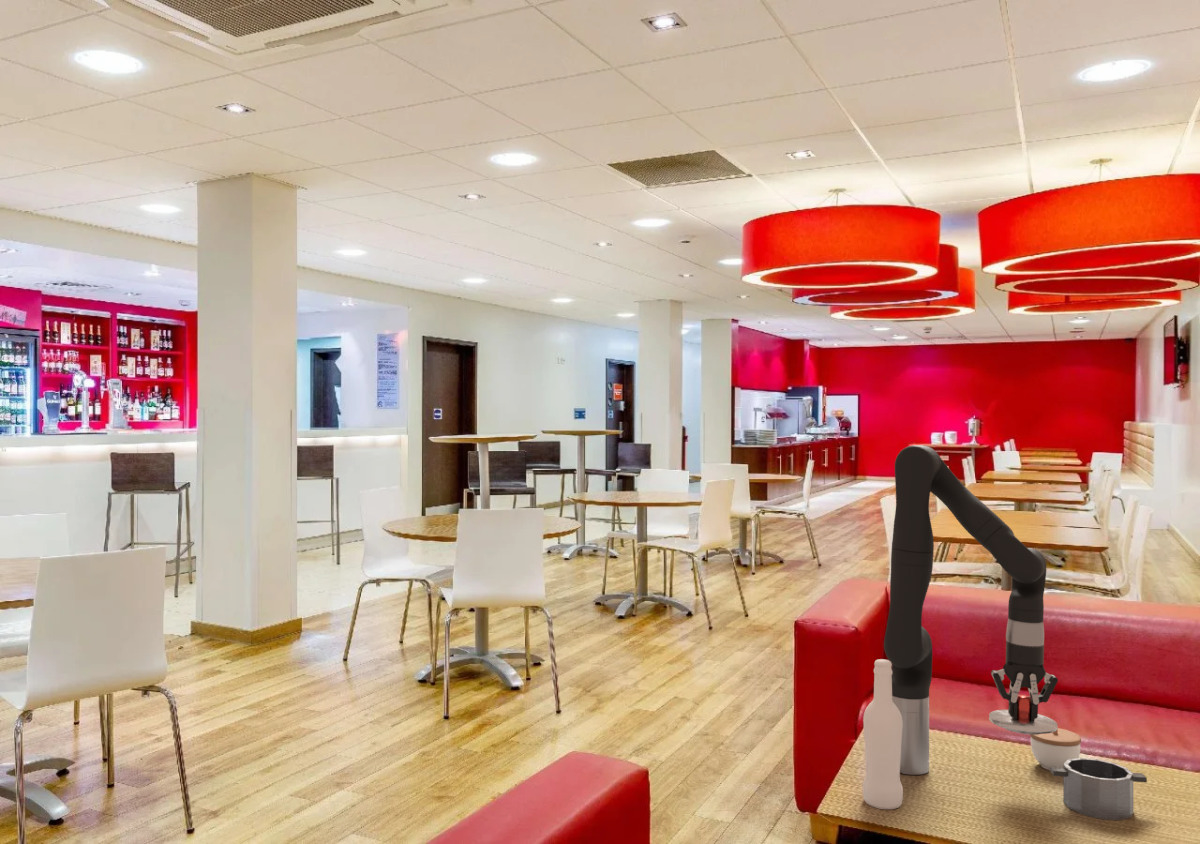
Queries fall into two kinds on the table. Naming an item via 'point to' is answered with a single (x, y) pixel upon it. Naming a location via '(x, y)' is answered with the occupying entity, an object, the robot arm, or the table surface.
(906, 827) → the table surface
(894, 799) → the bottle
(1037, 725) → the lid
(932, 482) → the robot arm
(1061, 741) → the lidded jar
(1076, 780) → the pot
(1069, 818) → the table surface
